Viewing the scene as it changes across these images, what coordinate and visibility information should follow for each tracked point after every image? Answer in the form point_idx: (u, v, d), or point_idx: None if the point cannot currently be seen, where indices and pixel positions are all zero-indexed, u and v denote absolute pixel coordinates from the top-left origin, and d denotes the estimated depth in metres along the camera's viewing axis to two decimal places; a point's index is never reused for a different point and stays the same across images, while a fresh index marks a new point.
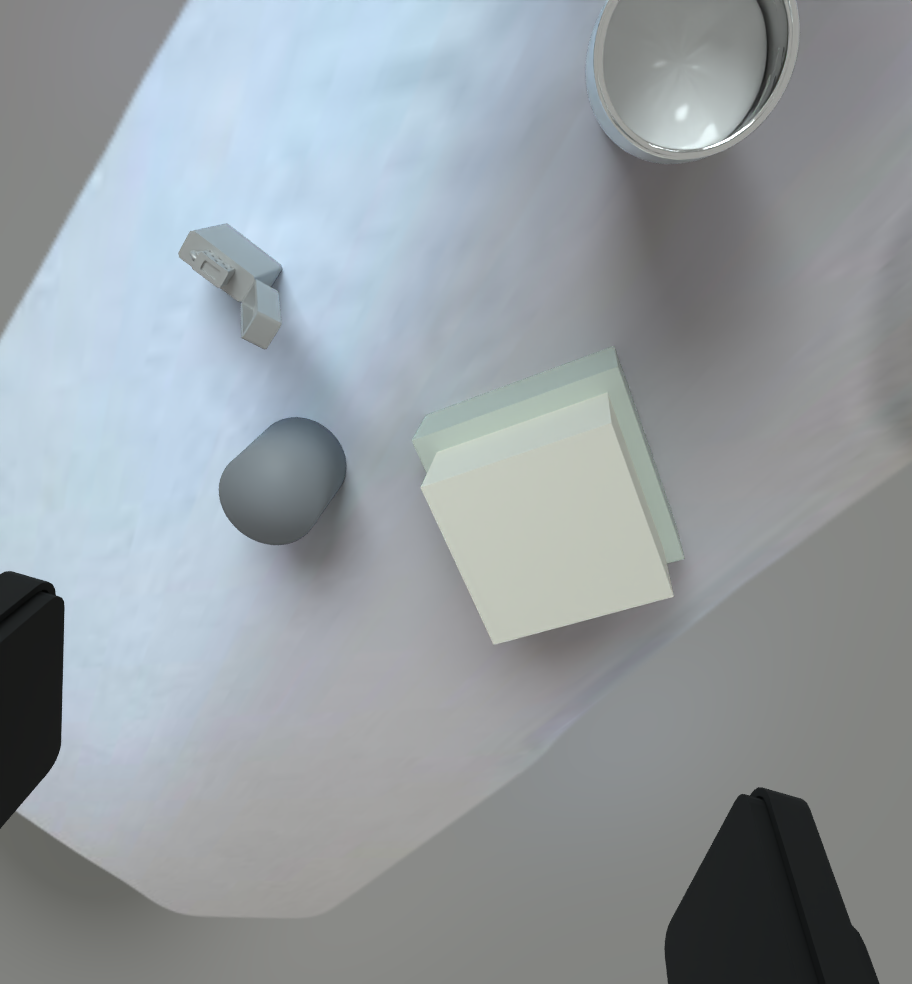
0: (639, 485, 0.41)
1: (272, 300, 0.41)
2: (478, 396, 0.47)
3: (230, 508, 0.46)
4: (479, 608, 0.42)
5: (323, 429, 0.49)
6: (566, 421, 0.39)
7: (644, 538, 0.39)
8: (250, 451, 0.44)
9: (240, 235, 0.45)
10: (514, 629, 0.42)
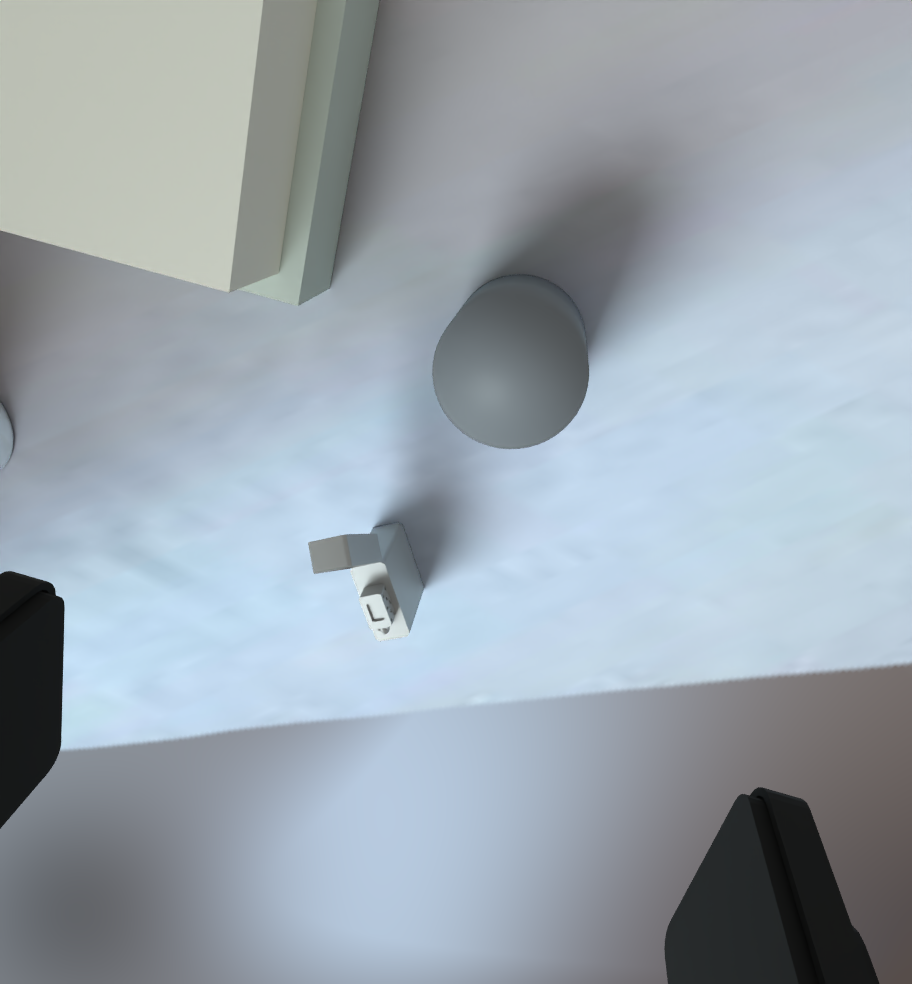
0: None
1: None
2: None
3: (570, 398, 0.30)
4: (253, 39, 0.23)
5: None
6: None
7: None
8: (481, 441, 0.31)
9: None
10: None
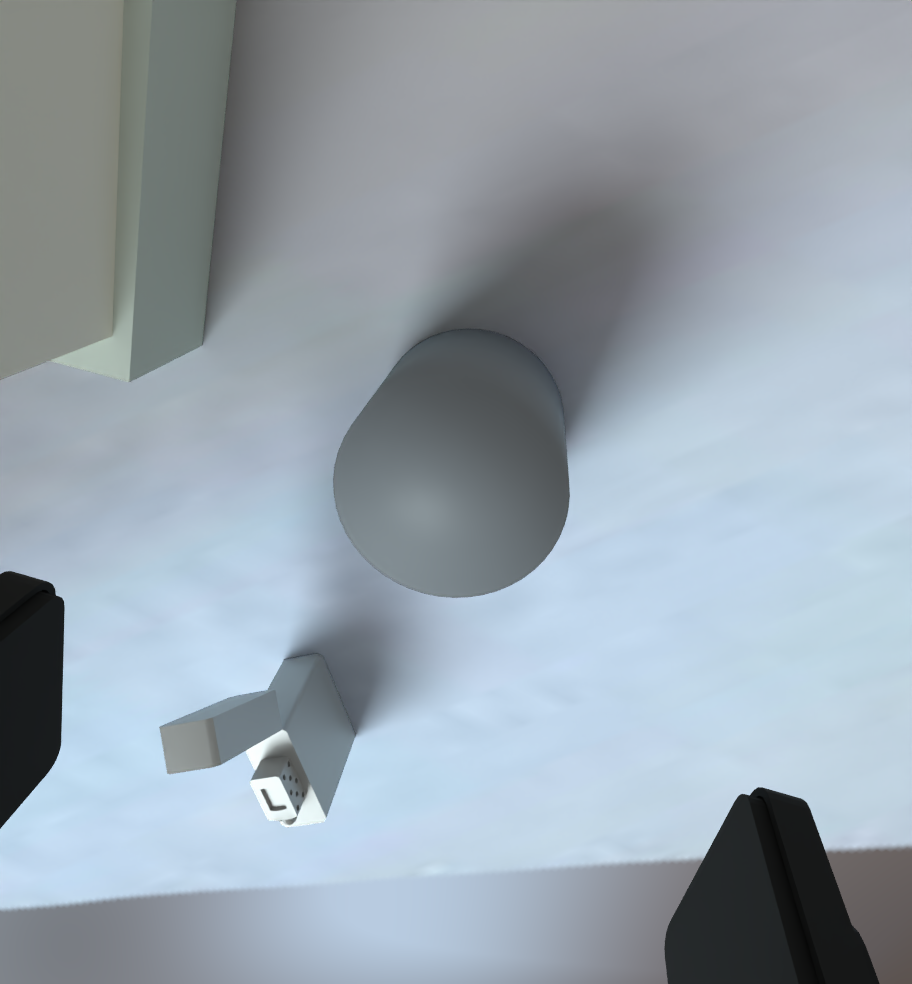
0: None
1: None
2: None
3: (543, 527, 0.20)
4: None
5: None
6: None
7: None
8: (412, 586, 0.21)
9: None
10: None
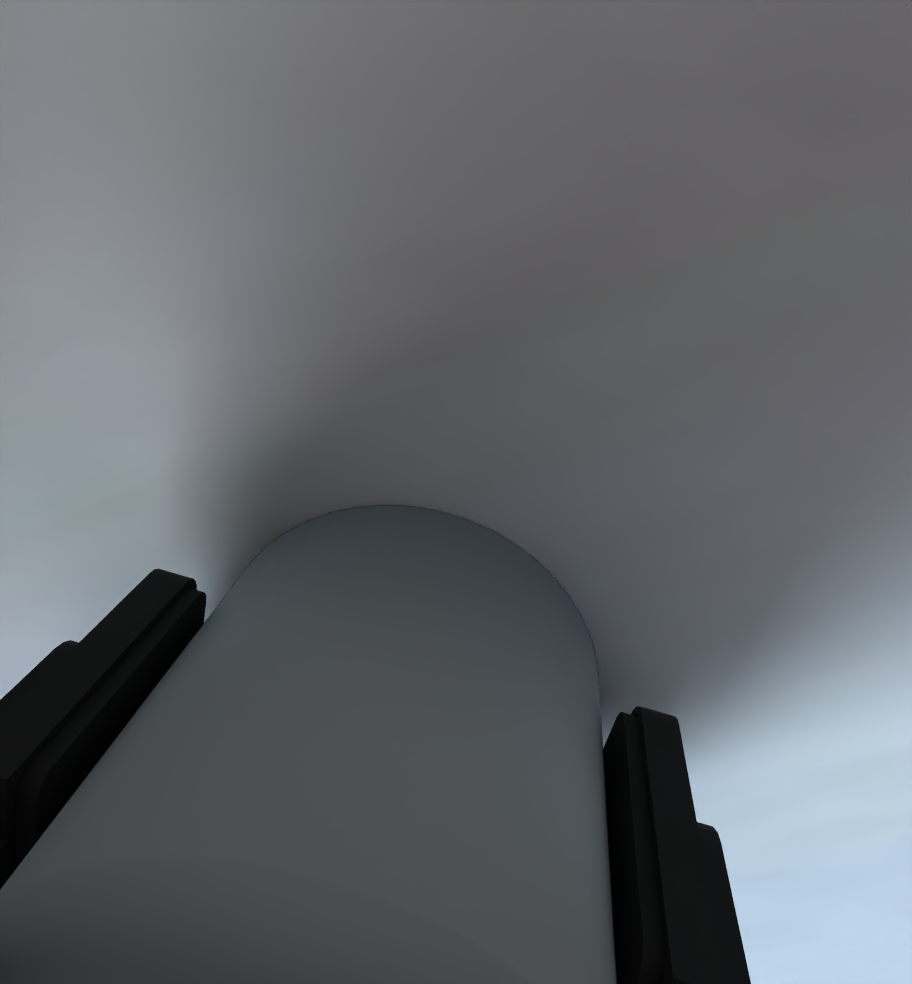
0: None
1: None
2: None
3: None
4: None
5: None
6: None
7: None
8: None
9: None
10: None
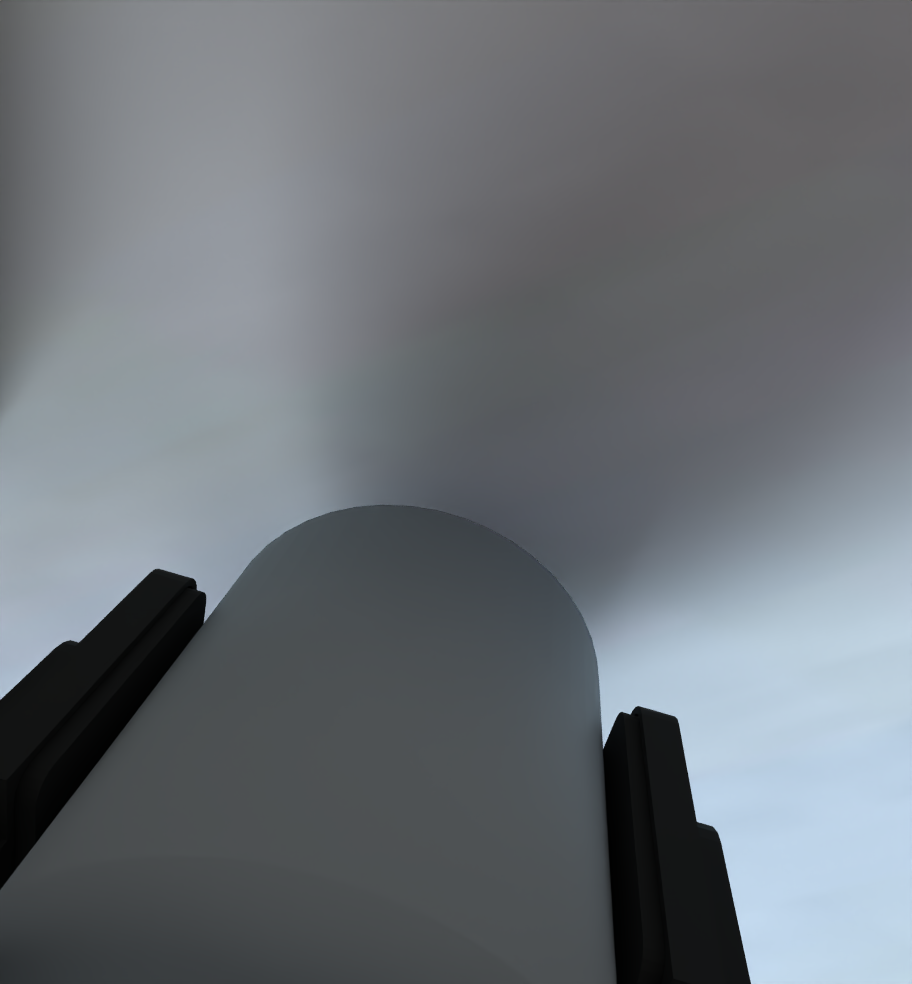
0: None
1: None
2: None
3: None
4: None
5: None
6: None
7: None
8: None
9: None
10: None
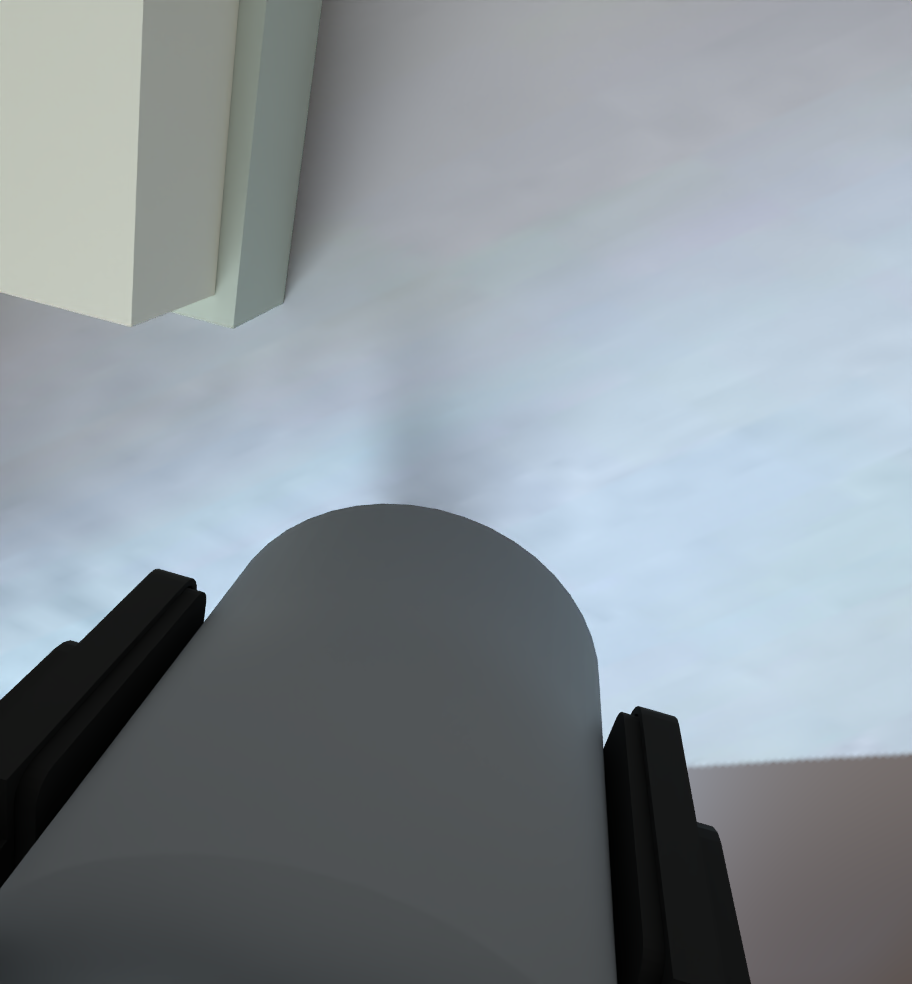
0: None
1: None
2: None
3: None
4: None
5: None
6: None
7: None
8: None
9: None
10: None
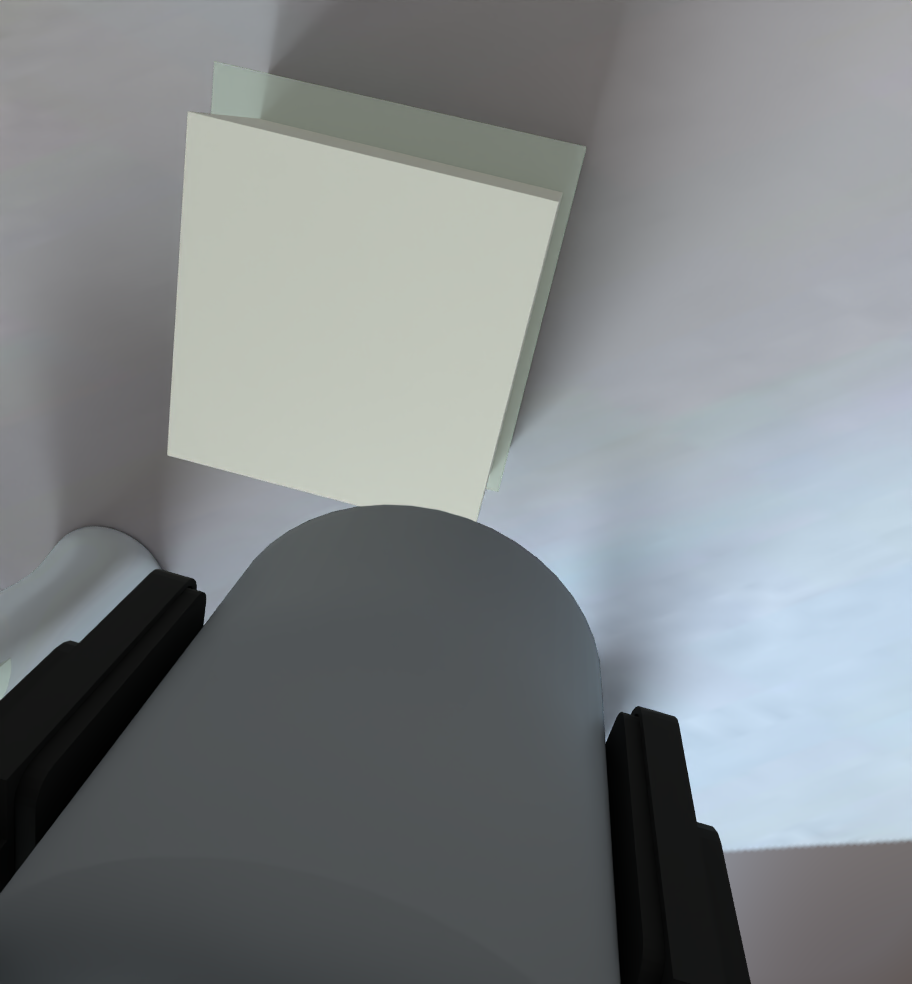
0: None
1: None
2: None
3: None
4: (529, 294, 0.21)
5: None
6: None
7: (193, 257, 0.22)
8: None
9: None
10: (499, 212, 0.20)
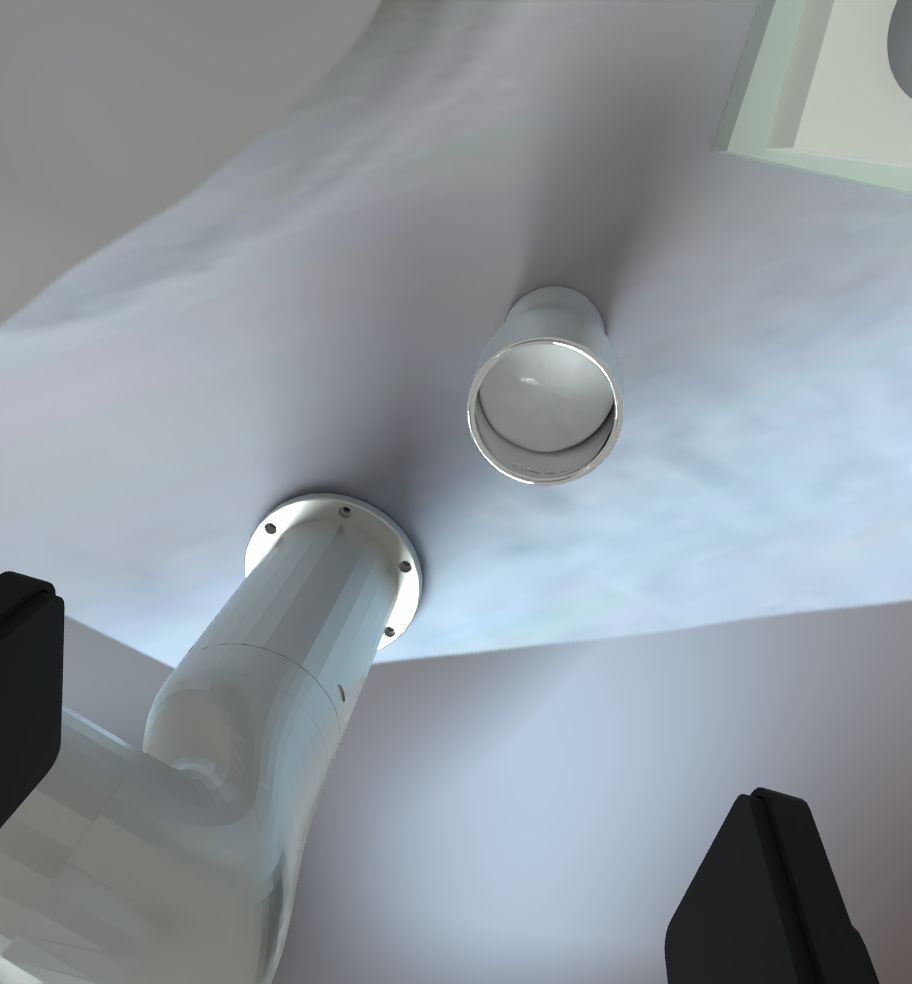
0: (806, 18, 0.33)
1: None
2: None
3: None
4: None
5: (892, 58, 0.30)
6: (830, 155, 0.34)
7: None
8: None
9: None
10: None
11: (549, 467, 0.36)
